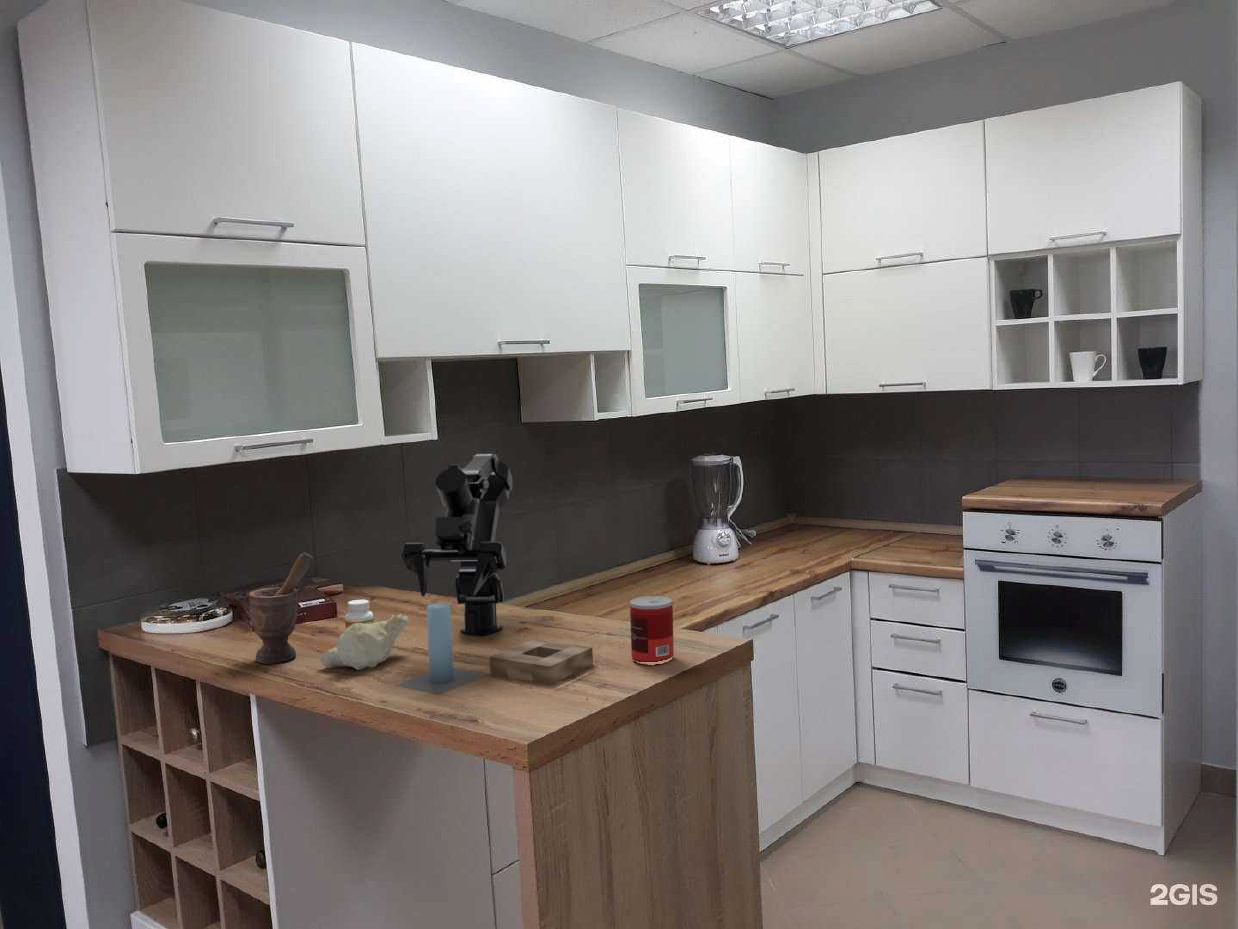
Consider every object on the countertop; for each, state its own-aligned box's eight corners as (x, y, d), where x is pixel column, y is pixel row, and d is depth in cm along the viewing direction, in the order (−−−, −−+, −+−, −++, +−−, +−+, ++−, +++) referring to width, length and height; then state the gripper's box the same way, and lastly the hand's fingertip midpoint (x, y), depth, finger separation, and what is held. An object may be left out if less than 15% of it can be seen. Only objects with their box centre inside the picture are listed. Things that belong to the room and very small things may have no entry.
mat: (443, 669, 181) (443, 667, 180) (486, 676, 175) (486, 674, 175) (396, 687, 170) (395, 685, 170) (440, 696, 165) (440, 694, 165)
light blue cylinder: (440, 675, 176) (437, 602, 174) (458, 678, 173) (455, 604, 172) (425, 681, 172) (421, 607, 171) (442, 684, 170) (439, 609, 169)
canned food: (678, 655, 185) (677, 596, 184) (666, 667, 178) (665, 606, 177) (639, 652, 188) (637, 595, 187) (625, 664, 180) (624, 604, 179)
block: (534, 657, 186) (534, 639, 186) (593, 666, 180) (592, 647, 179) (490, 676, 175) (489, 656, 175) (550, 686, 169) (550, 666, 168)
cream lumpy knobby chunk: (324, 691, 176) (387, 638, 175) (305, 658, 179) (366, 605, 177) (369, 691, 190) (428, 642, 189) (350, 660, 193) (408, 611, 192)
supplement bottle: (367, 655, 191) (365, 605, 190) (341, 654, 192) (339, 604, 191) (379, 647, 196) (377, 598, 196) (354, 646, 198) (351, 598, 197)
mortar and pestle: (302, 647, 198) (296, 547, 196) (323, 655, 192) (317, 552, 190) (245, 659, 190) (239, 556, 188) (265, 668, 184) (259, 561, 182)
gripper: (401, 500, 184) (385, 571, 174) (500, 498, 183) (491, 569, 173) (415, 534, 193) (401, 604, 183) (510, 533, 191) (501, 603, 181)
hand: (447, 595), depth 180 cm, fingers open, 9 cm apart
